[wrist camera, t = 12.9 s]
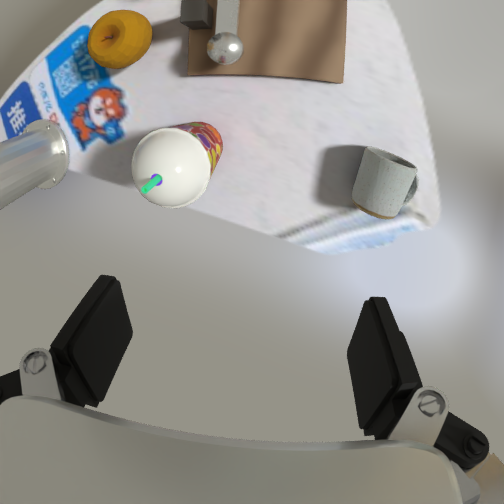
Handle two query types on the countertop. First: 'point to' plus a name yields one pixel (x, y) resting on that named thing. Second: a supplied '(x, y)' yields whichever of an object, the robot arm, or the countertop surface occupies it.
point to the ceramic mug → (384, 183)
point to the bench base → (273, 38)
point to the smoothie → (176, 163)
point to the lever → (226, 34)
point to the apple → (119, 39)
